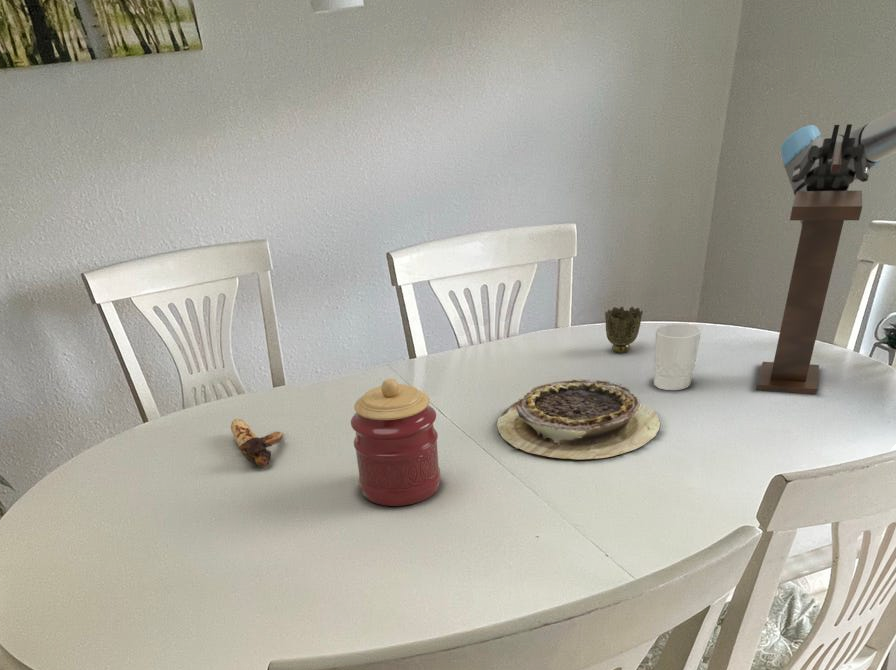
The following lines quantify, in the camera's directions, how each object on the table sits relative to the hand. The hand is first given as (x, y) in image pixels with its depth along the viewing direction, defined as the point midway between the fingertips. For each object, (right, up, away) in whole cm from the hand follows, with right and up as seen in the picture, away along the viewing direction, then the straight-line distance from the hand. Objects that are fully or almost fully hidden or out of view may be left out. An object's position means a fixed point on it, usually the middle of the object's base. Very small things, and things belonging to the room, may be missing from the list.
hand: (841, 133), depth 129 cm
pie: (-42, -46, +8) cm, 63 cm away
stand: (-1, -36, +16) cm, 39 cm away
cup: (-28, -23, +35) cm, 50 cm away
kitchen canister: (-73, -60, -4) cm, 95 cm away
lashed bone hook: (-99, -50, +11) cm, 111 cm away
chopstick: (-1, -5, 0) cm, 5 cm away
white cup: (-22, -36, +19) cm, 46 cm away
